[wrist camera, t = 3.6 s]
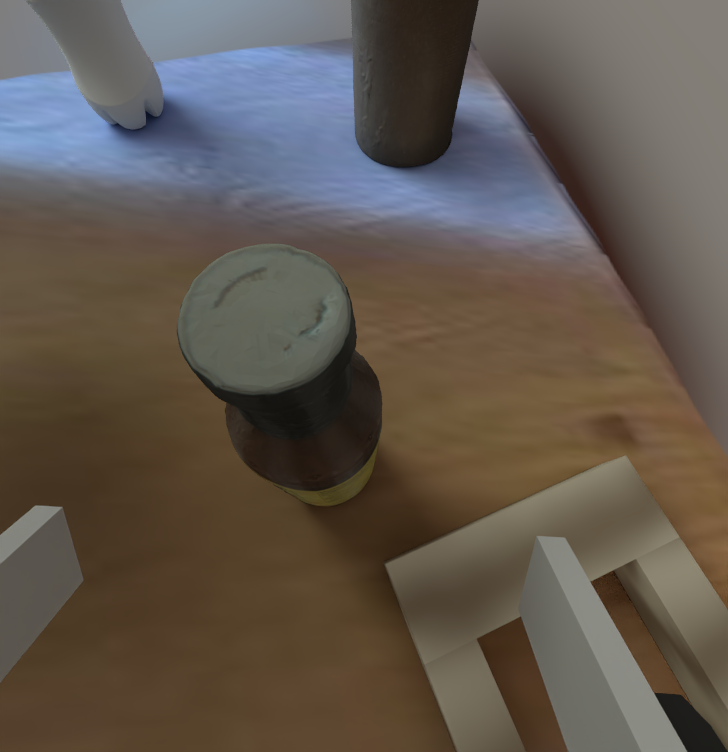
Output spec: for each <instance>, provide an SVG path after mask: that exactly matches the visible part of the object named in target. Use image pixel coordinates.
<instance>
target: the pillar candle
mask: <svg viewBox="0 0 728 752" xmlns="http://www.w3.org/2000/svg"><path fill="white" fill-rule="evenodd" d="M478 1H479V0H351V10H352V46H353V89H354V116H355V134H356V139H357V143H358V145H359V147H360V148H361V150H362V151H363V152H364V153H365V154H366V155H367V156H369V157H370V158H372V159H373V160H375V161H377V162H380V163H382V164H385V165H390V166H397V167H408V166H417V165H422V164H427V163H430V162H432V161H434V160H436V159H438V158H439V157H440V156H441V155H443V153H444V152H445V151H446V150H447V149H448V147H449V145H450V143H451V139H452V127H453V123H454V118H455V112H456V109H457V103H458V98H459V94H460V89H461V85H462V79H463V75H464V69H465V65H466V60H467V56H468V51H469V47H470V42H471V36H472V30H473V25H474V20H475V16H476V11H477V6H478Z"/></svg>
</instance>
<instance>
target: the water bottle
mask: <svg viewBox="0 0 728 752" xmlns="http://www.w3.org/2000/svg"><path fill="white" fill-rule="evenodd" d="M25 1H26V2H27V3H28V4H29V5H30V6H31V7H32V9H33V10H34V11H35V12H36V13H37V15H38V16H39V17H40V19H41V20H42V21H43V23H44V24H45V25H46V27H47V28H48V30H49V31H50V33H51V34H52V36H53V37H54V39H55V40H56V42H57V44H58V46H59V47H60V49H61V51H62V53H63V55H64V57H65V58H66V60H67V63H68V65H69V67H70V70H71V72H72V75H73V78H74V80H75V83H76V85H77V87H78V89H79V90H80V92H81V93H82V95H83V97H84V98H85V100H86V101H87V102H88V104H89V105H90V106H91V107H92V109H93V110H94V111H95V112H96V113H97V114H98V115H99V116H100V117H101V118H102V119H104V120H105V121H106V122H108V123H110V124H117V123H118V124H120V125H121V126H123V127H124V128H126V129H132V130H133V129H139V128H142V127H143V126H145V125H146V114H145V111H147V112H148V113H150V114H151V115H152V116H155V117H158V116H159V115H161V113H162V110H163V91H162V86H161V82H160V79H159V76H158V74H157V72H156V69H155V67H154V65H153V62H152V61H151V60H150V58H149V57H148V55H147V54H146V52H145V51H144V49H143V47H142V46H141V44H140V42H139V41H138V39H137V37H136V35H135V33H134V31H133V29H132V27H131V25H130V23H129V20H128V18H127V16H126V14H125V11H124V8H123V6H122V3H121V0H25Z"/></svg>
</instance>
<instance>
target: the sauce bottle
mask: <svg viewBox="0 0 728 752" xmlns="http://www.w3.org/2000/svg"><path fill="white" fill-rule="evenodd" d="M177 335H178V340H179V345H180V348H181V351H182V354H183V356H184V358H185V360H186V361H187V363H188V364H189V366H190V368H191V369H192V371H193V372H194V373H195V374H196V375H197V376H198V378H199V379H200V380H201V381H202V382H203V383H204V384H205V386H206V387H207V388H209V389H210V390H211V392H212V393H213V394H214V395H215V396H217V397H218V398H219V399H221V400H223V401H225V402H226V409H225V413H226V424H227V427H228V431H229V435H230V438H231V441H232V443H233V446H234V448H235V450H236V452H237V453H238V455H239V456H240V458H241V459H242V460H243V461H244V463H245V464H246V465H247V466H248V467H249V468H250V469H251V470H252V471H254V472H255V473H256V474H257V475H259V476H260V477H262V478H263V479H265V480H267V481H268V482H270V483H272V484H273V485H275V486H277V487H278V488H280V489H282V490H284V491H285V492H286V493H289V494H290V495H292V496H294V497H296V498H297V499H299V500H301V501H303V502H305V503H308V504H312V505H316V506H335V505H339V504H342V503H344V502H345V501H347V500H349V499H351V498H353V497H354V496H355V495H356V494H358V493H359V492H360V491H361V490H362V488H363V487H364V486H365V485H366V483H367V482H368V480H369V478H370V476H371V474H372V471H373V468H374V464H375V459H376V454H377V449H378V444H379V439H380V434H381V427H382V396H381V391H380V386H379V381H378V379H377V376H376V374H375V373H374V371H373V370H372V368H371V367H370V366H369V364H368V363H367V361H366V360H365V359H364V357H363V356H361V355H360V354H359V353H358V352H357V351H356V350H355V347H356V338H357V335H356V327H355V319H354V315H353V309H352V303H351V300H350V296H349V293H348V290H347V287H346V286H345V285H344V283H343V281H342V279H341V277H340V276H339V274H338V273H337V272H336V271H335V270H334V269H333V268H332V267H331V266H330V265H329V264H328V263H327V262H326V261H324V260H323V259H321V258H319V257H318V256H316V255H315V254H312V253H310V252H308V251H304V250H299V249H297V248H295V247H292V246H289V245H283V244H260V245H255V246H250V247H245V248H242V249H238V250H235V251H232V252H228V253H227V254H225V255H223V256H222V257H220V258H218V259H217V260H215V261H214V262H212V263H211V264H210V265H209V266H208V267H207V268H206V269H205V270H204V271H203V272H202V273H201V274H199V275H198V276H197V277H196V278H195V279H194V281H193V283H192V285H191V287H190V289H189V290H188V292H187V294H186V296H185V298H184V300H183V303H182V305H181V308H180V314H179V319H178V323H177Z"/></svg>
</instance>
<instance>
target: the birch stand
mask: <svg viewBox="0 0 728 752" xmlns="http://www.w3.org/2000/svg"><path fill="white" fill-rule="evenodd" d="M536 536H548V537H564V538H566V540H567V542H568V544H569V545H570V547H571V549H572V551H573V552H574V554H575V556H576V558H577V559H578V561H579V563H580V565H581V566H582V568H583V570H584V572H585V573H586V575H587V577H588V579H589V580H590V582H591V581H593V580H595V579H597V578H599V577H601V576H603V575H605V574H607V573H609V572H611V571H613V570H614V572H615V574H616V576H617V577H618V579H619V581H620V582H621V584H622V586H623V588H624V589H625V591H626V593H627V594H628V596H629V598H630V600H631V601H632V603H633V605H634V606H635V608H636V610H637V612H638V613H639V615H640V617H641V618H642V620H643V622H644V624H645V625H646V627H647V629H648V630H649V632H650V634H651V636H652V637H653V639H654V641H655V642H656V644H657V646H658V648H659V649H660V651H661V653H662V654H663V656H664V658H665V660H666V661H667V663H668V665H669V666H670V668H671V670H672V672H673V673H674V675H675V677H676V678H677V680H678V682H679V683H680V685H681V687H682V689H683V690H684V692H685V694H686V695H687V697H688V699H689V701H690V702H691V704H692V706H693V707H694V709H695V710H696V711H697V712H698V713H699V714H700V715H701V716H702V717H703V718H704V719H705V720H706V721H707V722H708V723H709V724H710V725H711V726H712V728H713V729H714V731H715V733H716V734H717V736H718V737H719V739H720V740H721V742H722V743H723V745H724V746H725V748H726V750H727V751H728V609H727V608H726V606H725V605H724V603H723V602H722V600H721V599H720V597H719V596H718V594H717V593H716V591H715V590H714V588H713V587H712V585H711V584H710V582H709V581H708V579H707V578H706V576H705V575H704V573H703V572H702V570H701V569H700V567H699V566H698V564H697V562H696V561H695V559H694V558H693V556H692V555H691V553H690V552H689V550H688V549H687V547H686V546H685V544H684V543H683V541H682V540H681V538H680V537H679V535H678V534H677V532H676V531H675V529H674V528H673V526H672V525H671V523H670V522H669V520H668V519H667V517H666V516H665V514H664V513H663V511H662V510H661V508H660V507H659V505H658V503H657V502H656V500H655V499H654V497H653V496H652V494H651V493H650V491H649V490H648V488H647V487H646V485H645V484H644V482H643V481H642V479H641V478H640V476H639V475H638V473H637V472H636V470H635V469H634V467H633V466H632V464H631V463H630V461H629V460H628V458H627V457H626V456H623V457H620V458H617V459H614V460H611V461H609V462H606V463H603V464H600V465H598V466H595V467H593V468H591V469H589V470H587V471H584V472H582V473H580V474H578V475H575V476H573V477H571V478H569V479H567V480H564V481H562V482H560V483H558V484H555V485H553V486H551V487H549V488H547V489H544V490H542V491H540V492H538V493H536V494H533V495H531V496H529V497H527V498H524V499H522V500H520V501H518V502H516V503H513V504H511V505H509V506H507V507H504V508H502V509H500V510H498V511H496V512H493V513H491V514H489V515H487V516H484V517H482V518H480V519H478V520H476V521H473V522H471V523H469V524H467V525H465V526H462V527H460V528H458V529H456V530H453V531H451V532H449V533H447V534H445V535H442V536H440V537H438V538H436V539H433V540H431V541H429V542H427V543H425V544H422V545H420V546H418V547H416V548H413V549H411V550H409V551H407V552H405V553H402V554H400V555H398V556H396V557H393V558H391V559H389V560H387V561H385V562H383V564H384V567H385V569H386V572H387V574H388V577H389V580H390V582H391V585H392V587H393V590H394V593H395V595H396V598H397V600H398V603H399V605H400V608H401V611H402V613H403V616H404V618H405V621H406V624H407V626H408V629H409V631H410V634H411V637H412V639H413V642H414V644H415V647H416V650H417V652H418V655H419V657H420V660H421V663H422V665H423V668H424V670H425V673H426V675H427V678H428V681H429V683H430V686H431V688H432V691H433V694H434V696H435V699H436V701H437V704H438V707H439V709H440V712H441V714H442V717H443V720H444V722H445V725H446V727H447V730H448V733H449V735H450V738H451V740H452V743H453V745H454V748H455V751H456V752H526V750H525V748H524V746H523V743H522V741H521V739H520V737H519V734H518V732H517V730H516V727H515V725H514V723H513V721H512V718H511V716H510V714H509V711H508V709H507V707H506V705H505V702H504V700H503V698H502V695H501V693H500V691H499V689H498V686H497V684H496V682H495V680H494V677H493V675H492V673H491V670H490V668H489V666H488V664H487V661H486V659H485V657H484V654H483V652H482V650H481V648H480V645H479V643H478V641H477V638H479V637H481V636H483V635H485V634H487V633H489V632H491V631H493V630H495V629H497V628H499V627H501V626H503V625H505V624H507V623H509V622H511V621H513V620H515V619H517V618H519V617H521V615H520V612H519V609H518V607H519V603H520V599H521V595H522V591H523V587H524V583H525V579H526V575H527V571H528V567H529V564H530V560H531V556H532V552H533V548H534V544H535V540H536Z"/></svg>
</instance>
